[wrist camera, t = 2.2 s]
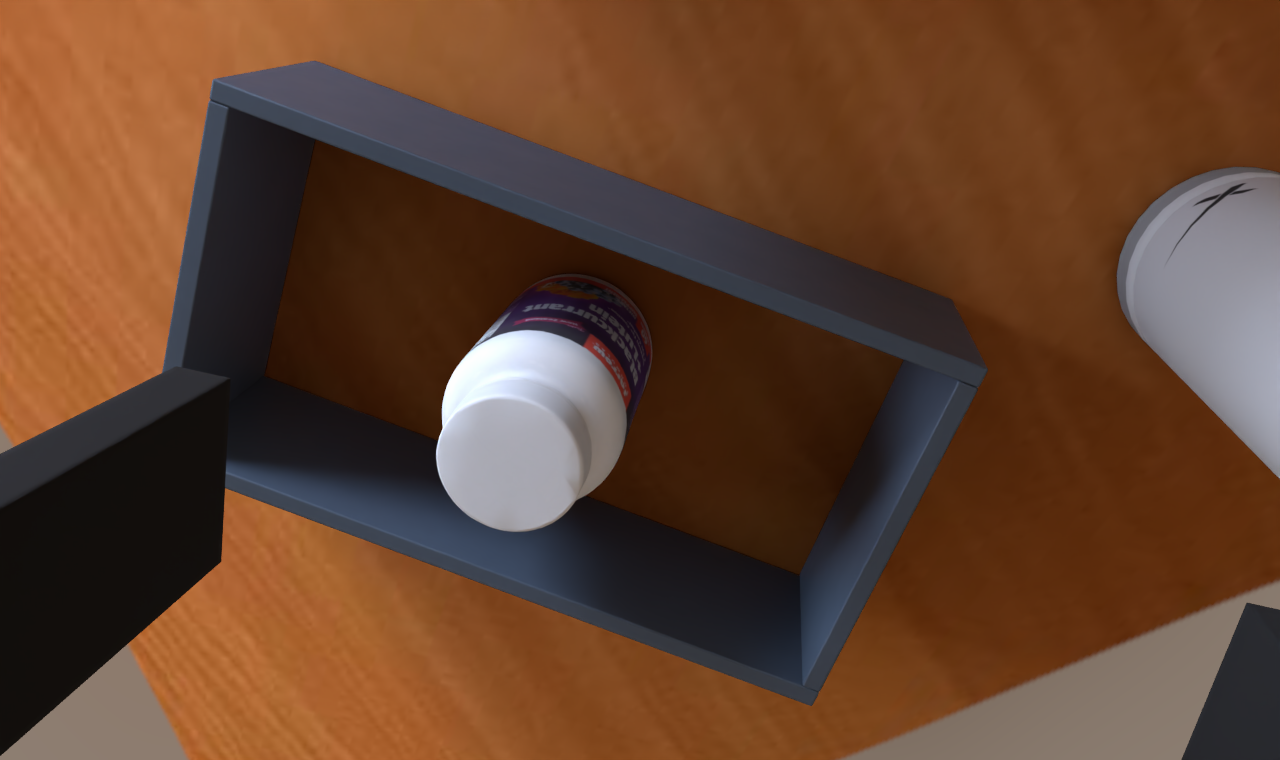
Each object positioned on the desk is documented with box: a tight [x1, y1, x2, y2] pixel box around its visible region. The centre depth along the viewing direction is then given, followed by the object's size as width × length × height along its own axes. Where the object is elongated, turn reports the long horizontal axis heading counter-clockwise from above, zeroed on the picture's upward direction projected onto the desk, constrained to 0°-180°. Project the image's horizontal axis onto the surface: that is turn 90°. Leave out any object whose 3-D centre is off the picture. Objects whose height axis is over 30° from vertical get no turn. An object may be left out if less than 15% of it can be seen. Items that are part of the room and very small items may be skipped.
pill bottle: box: [436, 274, 652, 532], centre depth 32 cm, size 5×5×10 cm
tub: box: [162, 61, 988, 706], centre depth 33 cm, size 22×12×6 cm, turn 71°
